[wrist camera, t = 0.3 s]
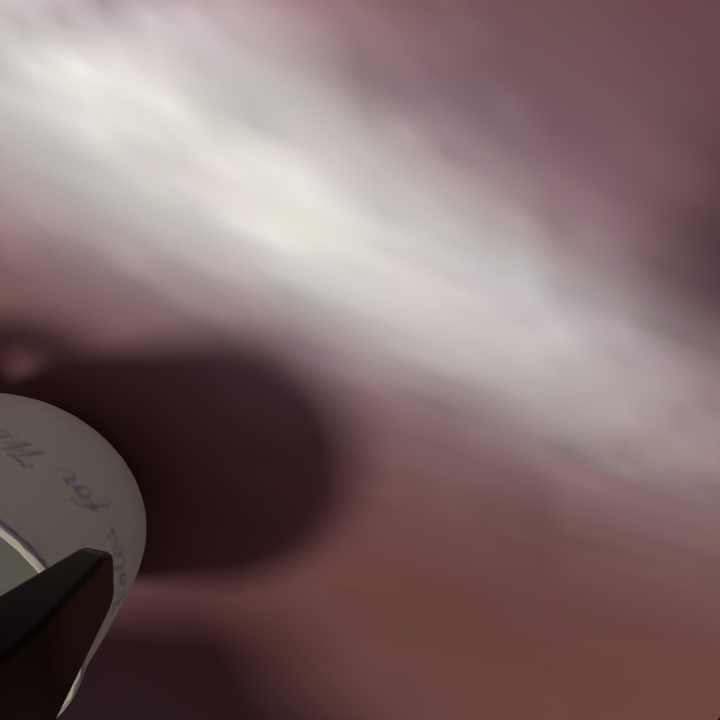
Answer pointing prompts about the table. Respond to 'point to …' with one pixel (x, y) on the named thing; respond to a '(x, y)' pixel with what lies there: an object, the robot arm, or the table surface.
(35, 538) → the teacup
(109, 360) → the table surface
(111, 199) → the table surface
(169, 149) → the table surface
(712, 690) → the table surface
